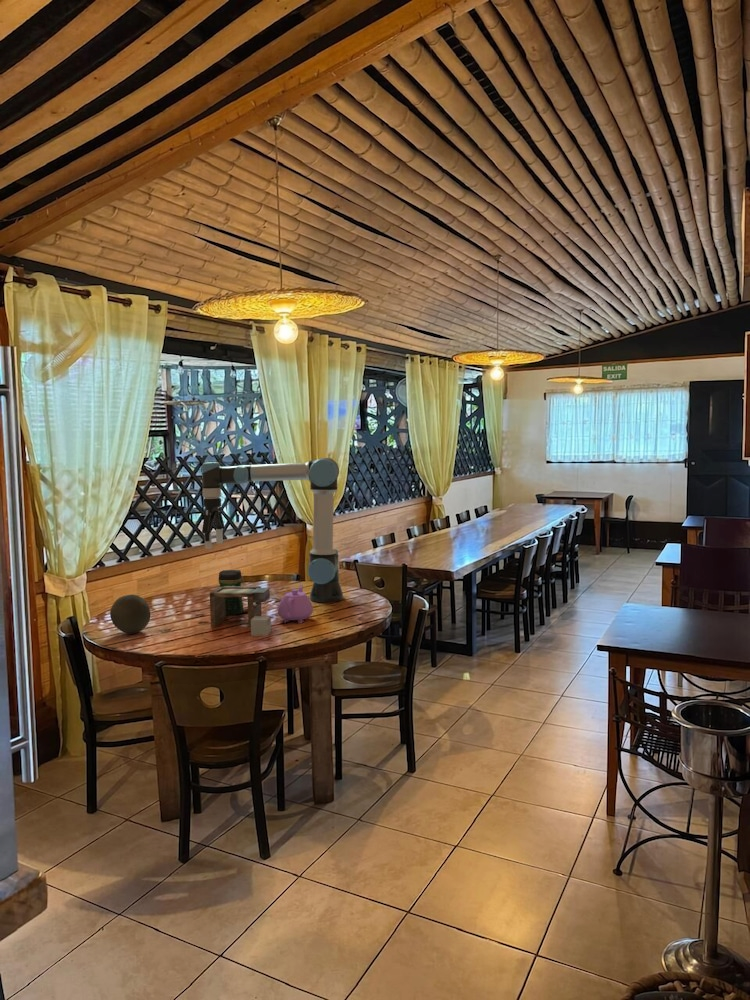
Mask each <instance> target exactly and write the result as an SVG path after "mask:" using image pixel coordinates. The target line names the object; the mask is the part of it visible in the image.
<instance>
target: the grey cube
mask: <svg viewBox="0 0 750 1000" xmlns="http://www.w3.org/2000/svg"><path fill="white" fill-rule="evenodd" d="M271 619H272V618H271V615H262V616H255V617H253V618H252V619H251V627H250V634H251V635H250V636H255V637H257V636H260V637H261V636H263V637H265V636H268V635H269V634H270V633H271V631H272V623H271Z"/></svg>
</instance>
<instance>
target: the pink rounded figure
mask: <svg viewBox="0 0 750 1000" xmlns="http://www.w3.org/2000/svg"><path fill="white" fill-rule="evenodd" d="M303 590H304V589H303V584H301V585H299V586H298V589H295V588H294V589H291V592H287V593H285V594H284V595H283V596H282V598H281V599H280V600H279V601H280V602H279V604H278V608H277V615H278V616H279V617H280V618H281V619H283V621H282V622H284V623H285V624H286V622H288V623H290V621H297V623H298V622H299V623H298V624H302V623H301V622H304V620H307V619H306V618H308V619H309V618H310V616H311V615H312V614H313V612H314V606H313V604H312V602H311V600H310V597H309V596H308V595H307V593H305V592H304V591H303ZM304 623H305V622H304Z"/></svg>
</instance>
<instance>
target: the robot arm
mask: <svg viewBox="0 0 750 1000" xmlns="http://www.w3.org/2000/svg"><path fill="white" fill-rule="evenodd" d="M339 474H340V468H339V464H338V463H337V462H336V461H335V460H334V459H332V458H330V457H322V458H318V459H313V460H312V459H311V460H308V461H307V462H292V463H274V464H273V463H268V464H265V463H264V464H238V465H233V466H232V465H231V466H221V464H220V462H218V461H217V462H216V461H213V462H212V461H211V462H203V463H202V465H201V477H202V478H201V479H202V491H201V492H202V495H203V496H202V497H203V500H202V501H203V507H204V508H207V509H204V510H203V520H202V527H201V528H202V530H201V534H203V535H204V549H205V550H207V549H208V550H209V549H210V550H212V549H213V545H212V544H213V543H212V540H213V539H212V533H211V532H212V527H213V522H214V524H215V528H216V529H215V535H216V536H215V537H216V539H215V540H216V541H215V543H216V545H223V544H224V541H223V540H224V539H223V537H224V536H223V535H224V534H223V530H224V529H225V524H224V518H223V515H222V508H221V506H222V498H221V497H222V492H221V491H222V489H221V485H224V484H225V485H226V484H228V485H229V484H233V485H234V484H235V485H236V484H238V485H241V484H246V483H249V482H274V481H277V482H278V481H305V480H307V481H309V483H310V486H309V489H310V491H311V492H312V493H313V517H312V518H313V519H312V520H313V522H312V524H313V527H312V529H313V530H312V533H313V534H312V549H311V550H310V551H309V562H308V566H307V574H308V576H309V577H308V578H309V579H310V580H311V581H312V587H311V590H310V593H309V600H310V601H312V602H314V603H334V602H339V601H342V600H343V599H344V592H343V590H342V587H341V584H340V581H339V580H340V577H339V572H340V571H339V557H340V556H339V551H338V549H336V548H333V547H334V497H335V496H334V495H335V493H336V492H337V491H338V477H339Z"/></svg>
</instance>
